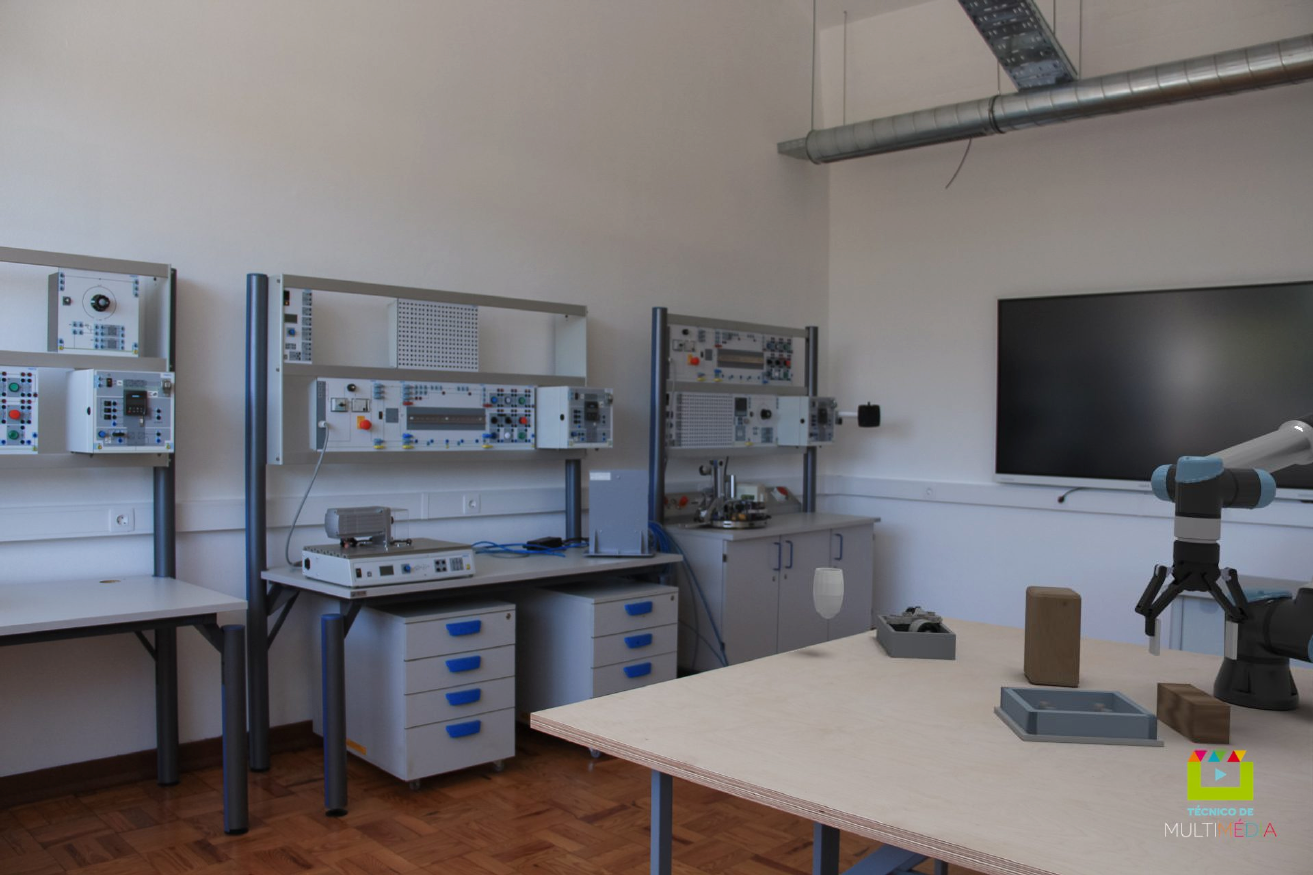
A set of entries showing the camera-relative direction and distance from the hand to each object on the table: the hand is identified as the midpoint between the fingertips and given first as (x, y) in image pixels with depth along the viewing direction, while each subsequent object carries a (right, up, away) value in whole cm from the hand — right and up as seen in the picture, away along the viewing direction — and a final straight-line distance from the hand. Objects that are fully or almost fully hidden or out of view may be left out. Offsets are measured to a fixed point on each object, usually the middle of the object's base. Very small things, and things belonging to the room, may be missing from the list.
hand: (1192, 656), depth 181 cm
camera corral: (-34, -12, +64) cm, 74 cm away
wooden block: (-12, -13, +35) cm, 39 cm away
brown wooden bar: (0, -14, 0) cm, 14 cm away
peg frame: (-22, -13, 0) cm, 25 cm away
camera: (-34, -12, +64) cm, 74 cm away
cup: (-58, -12, +53) cm, 79 cm away
